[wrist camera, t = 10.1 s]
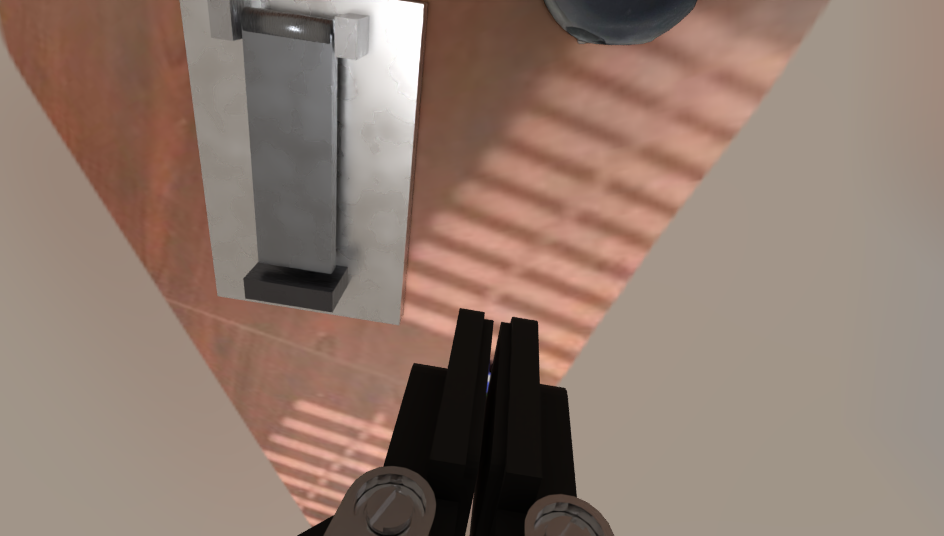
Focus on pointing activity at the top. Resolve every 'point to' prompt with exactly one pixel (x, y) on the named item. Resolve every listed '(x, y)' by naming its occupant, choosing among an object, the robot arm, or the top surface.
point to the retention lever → (292, 136)
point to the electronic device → (618, 19)
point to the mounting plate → (358, 153)
